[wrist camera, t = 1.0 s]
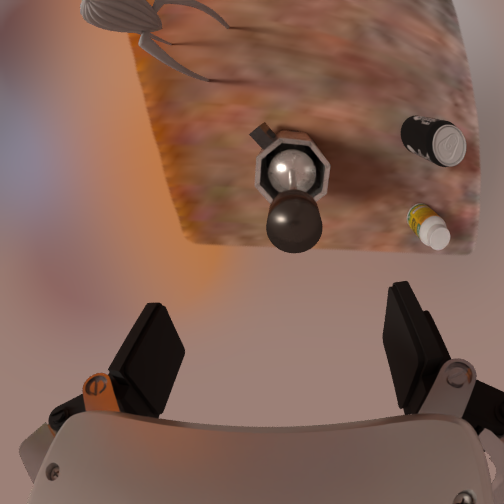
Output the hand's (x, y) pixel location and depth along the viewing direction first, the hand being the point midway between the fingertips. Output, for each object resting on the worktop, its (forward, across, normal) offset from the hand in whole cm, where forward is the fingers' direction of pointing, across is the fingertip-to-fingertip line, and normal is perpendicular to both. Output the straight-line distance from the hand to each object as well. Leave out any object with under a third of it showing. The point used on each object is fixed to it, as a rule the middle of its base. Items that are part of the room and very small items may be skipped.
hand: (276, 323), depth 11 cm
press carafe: (+38, 0, -1) cm, 38 cm away
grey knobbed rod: (+28, -1, +1) cm, 28 cm away
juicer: (+38, +9, -21) cm, 45 cm away
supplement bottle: (+38, -23, +13) cm, 47 cm away
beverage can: (+38, -23, -2) cm, 45 cm away
